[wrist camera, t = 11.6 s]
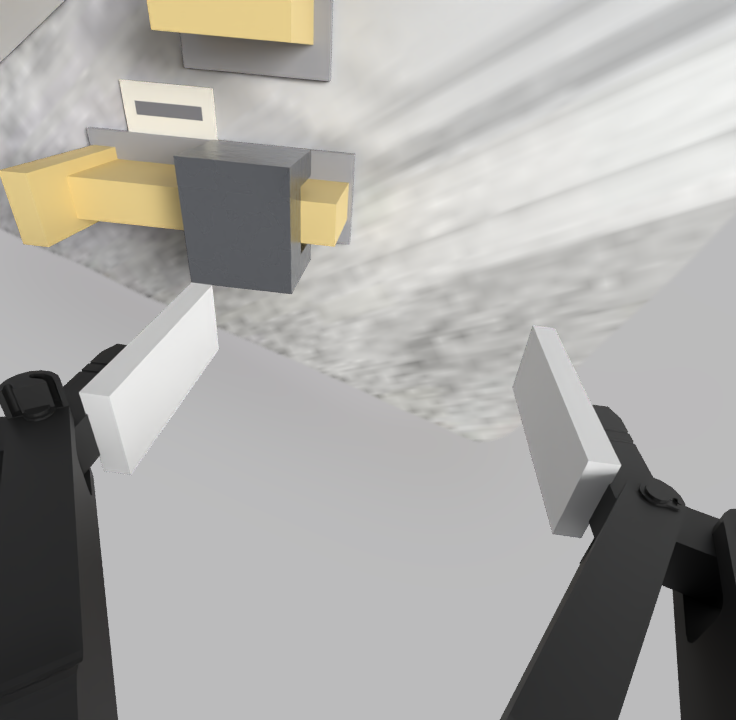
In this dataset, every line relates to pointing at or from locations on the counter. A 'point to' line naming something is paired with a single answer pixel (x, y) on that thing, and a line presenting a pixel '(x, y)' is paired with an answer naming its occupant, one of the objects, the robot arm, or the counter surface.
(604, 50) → the counter surface
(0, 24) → the milk carton
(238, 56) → the stub
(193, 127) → the label
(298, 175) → the grey block
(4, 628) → the robot arm
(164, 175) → the rail
